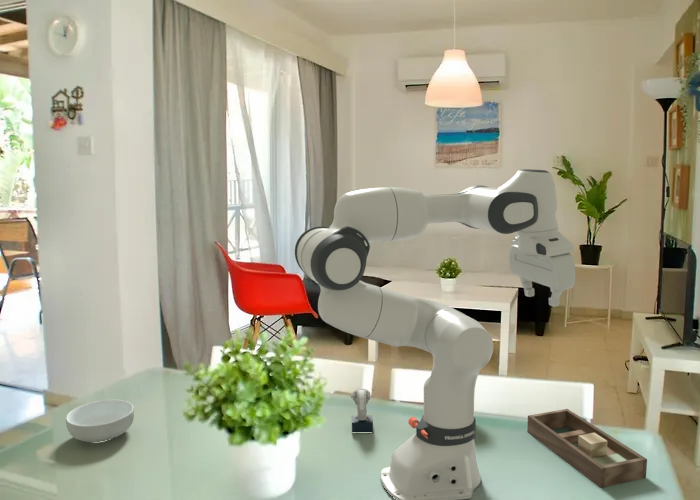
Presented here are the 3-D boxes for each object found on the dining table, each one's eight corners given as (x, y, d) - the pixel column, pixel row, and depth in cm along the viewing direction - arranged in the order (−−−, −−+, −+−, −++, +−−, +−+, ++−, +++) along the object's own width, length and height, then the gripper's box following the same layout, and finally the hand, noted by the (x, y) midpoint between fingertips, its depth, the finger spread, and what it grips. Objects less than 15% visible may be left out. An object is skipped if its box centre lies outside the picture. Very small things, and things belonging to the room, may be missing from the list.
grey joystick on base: (371, 422, 167) (371, 384, 165) (373, 436, 159) (372, 396, 157) (351, 423, 167) (350, 384, 165) (351, 437, 159) (350, 397, 157)
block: (590, 458, 141) (591, 444, 141) (577, 449, 146) (578, 435, 145) (606, 454, 143) (607, 440, 142) (593, 446, 147) (594, 432, 146)
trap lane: (600, 487, 133) (601, 468, 132) (527, 431, 159) (527, 415, 158) (645, 477, 136) (647, 459, 135) (566, 424, 163) (567, 408, 162)
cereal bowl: (132, 447, 156) (130, 421, 155) (62, 456, 153) (59, 429, 151) (138, 419, 173) (136, 395, 172) (75, 426, 169) (72, 402, 168)
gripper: (500, 237, 145) (504, 293, 148) (553, 250, 126) (557, 314, 128) (524, 232, 147) (527, 288, 149) (579, 245, 127) (582, 308, 130)
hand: (541, 300), depth 139 cm, fingers open, 8 cm apart
